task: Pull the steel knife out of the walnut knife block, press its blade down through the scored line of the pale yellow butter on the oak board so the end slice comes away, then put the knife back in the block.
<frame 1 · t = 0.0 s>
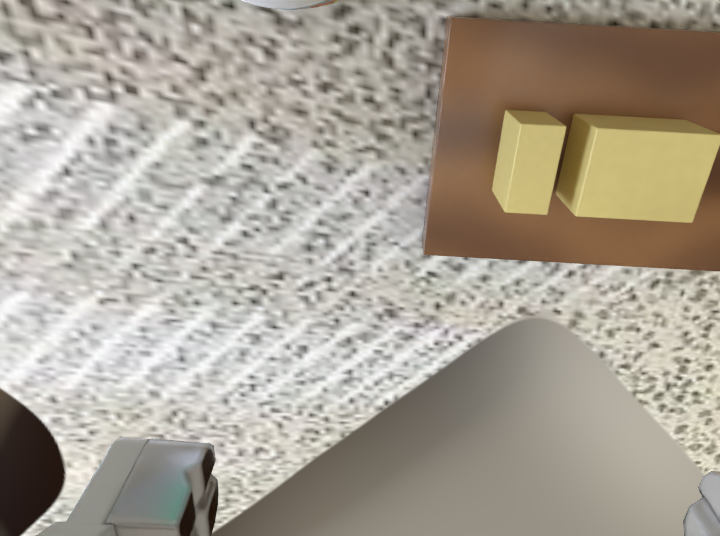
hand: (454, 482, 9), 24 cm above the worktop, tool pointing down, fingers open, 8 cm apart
board: (590, 150, 31), on the worktop
butter block: (618, 158, 30), point 1 cm above the worktop, touching board
butter slice: (517, 152, 30), point 1 cm above the worktop, touching board
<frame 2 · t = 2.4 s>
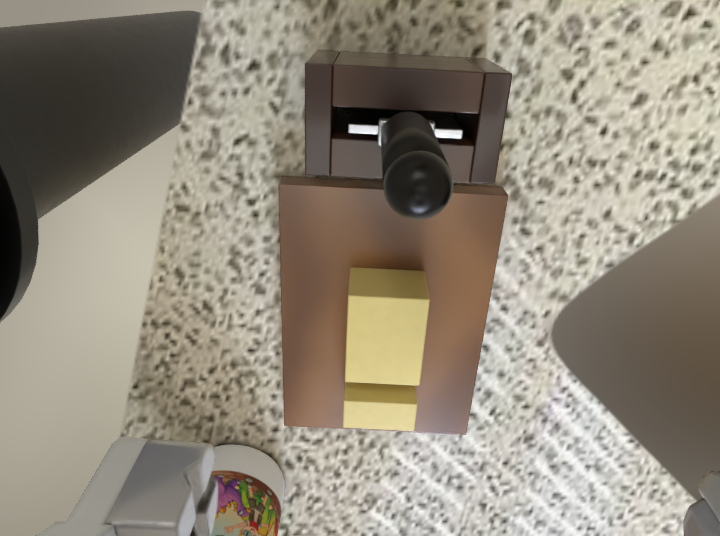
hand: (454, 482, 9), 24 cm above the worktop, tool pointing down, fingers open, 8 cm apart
board: (382, 311, 36), on the worktop
knife block: (398, 102, 30), on the worktop
milk bottle: (238, 474, 43), on the worktop
butter block: (384, 310, 34), point 1 cm above the worktop, touching board
butter slice: (378, 380, 37), point 1 cm above the worktop, touching board
knife: (406, 135, 23), in the knife block
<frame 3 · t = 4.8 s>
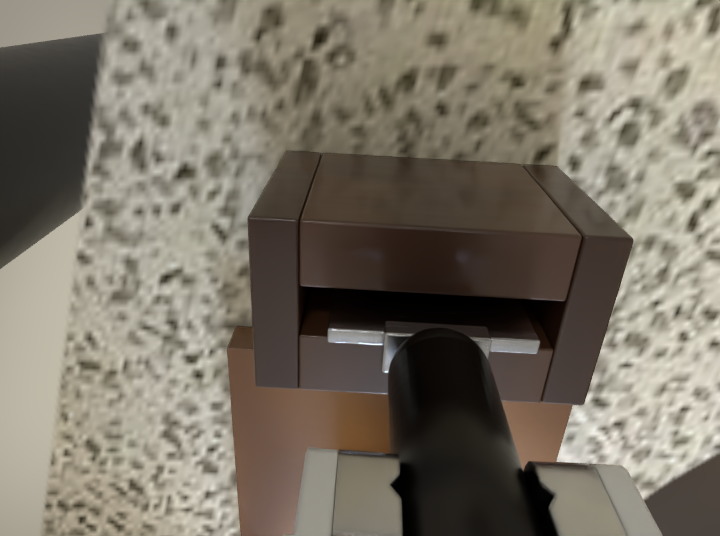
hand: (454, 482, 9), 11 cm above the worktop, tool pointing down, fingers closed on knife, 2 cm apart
board: (386, 497, 25), on the worktop
knife block: (414, 227, 19), on the worktop
knife: (436, 361, 12), in the knife block, touching gripper
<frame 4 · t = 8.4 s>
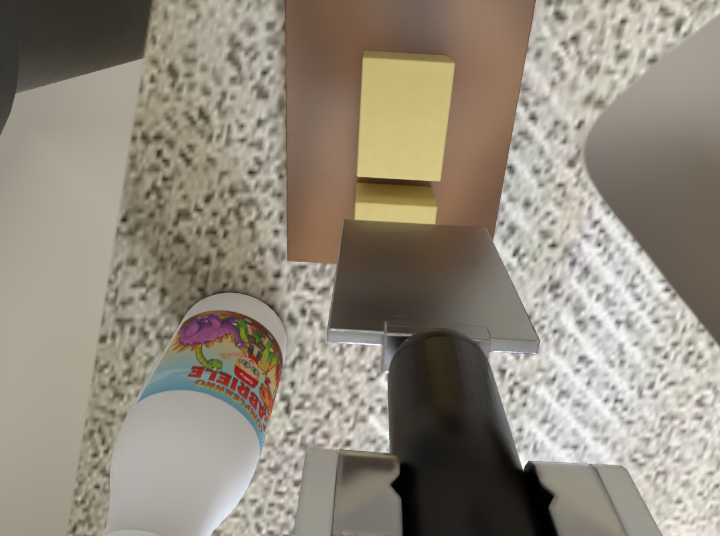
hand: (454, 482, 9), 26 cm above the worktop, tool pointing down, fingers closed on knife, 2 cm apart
board: (398, 121, 32), on the worktop
milk bottle: (237, 333, 40), on the worktop
butter block: (400, 109, 31), point 1 cm above the worktop, touching board
butter slice: (392, 201, 33), point 1 cm above the worktop, touching board
knife: (436, 361, 12), point 23 cm above the worktop, touching gripper
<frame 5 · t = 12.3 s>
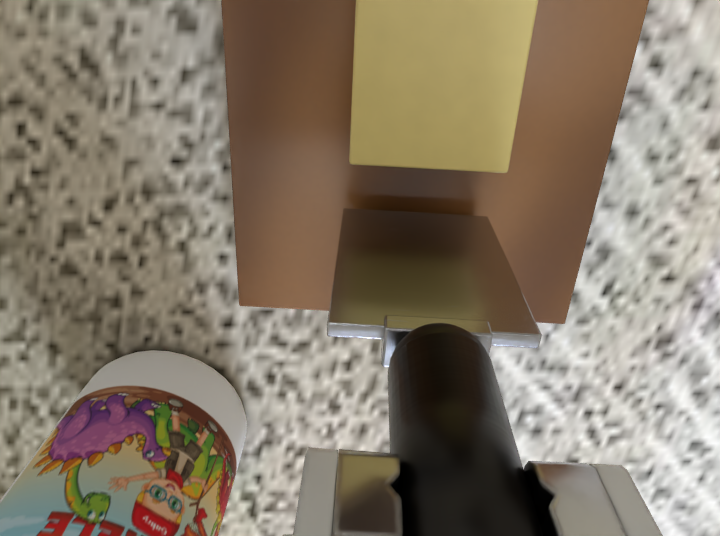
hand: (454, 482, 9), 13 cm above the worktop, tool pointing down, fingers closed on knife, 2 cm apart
board: (422, 72, 19), on the worktop
milk bottle: (171, 407, 26), on the worktop
butter block: (428, 44, 17), point 1 cm above the worktop, touching board
knife: (437, 356, 12), point 10 cm above the worktop, touching butter slice, gripper
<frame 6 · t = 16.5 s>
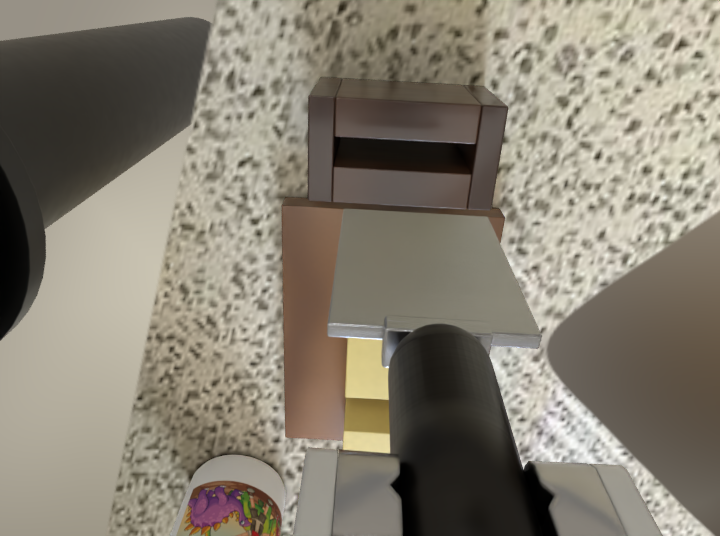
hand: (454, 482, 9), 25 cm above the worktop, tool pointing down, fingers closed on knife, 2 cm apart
board: (382, 327, 37), on the worktop
knife block: (398, 127, 31), on the worktop
milk bottle: (240, 484, 44), on the worktop
butter block: (383, 327, 35), point 1 cm above the worktop, touching board
butter slice: (377, 408, 38), point 1 cm above the worktop, touching board
knife: (437, 356, 12), point 21 cm above the worktop, touching gripper
when the fingers open (11 cm above the worktop, at t = 19.7 s): knife stays where it is, resting on knife block.
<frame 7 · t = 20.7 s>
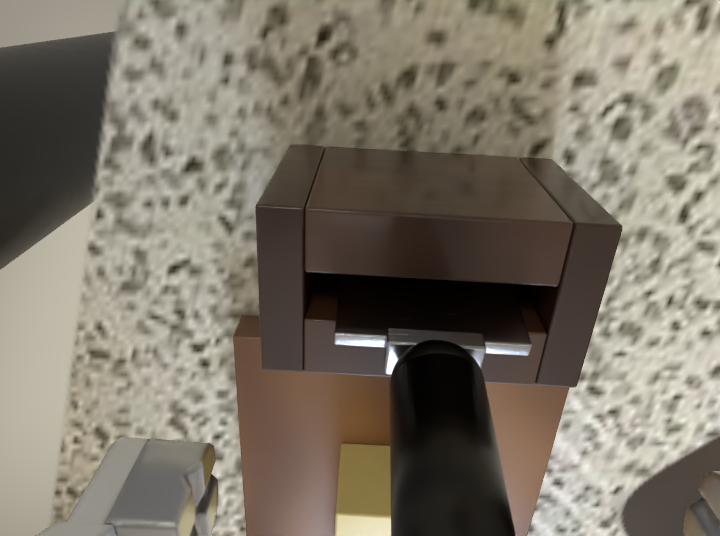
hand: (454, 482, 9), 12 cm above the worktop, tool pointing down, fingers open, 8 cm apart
board: (387, 484, 26), on the worktop
knife block: (414, 219, 20), on the worktop
butter block: (389, 495, 24), point 1 cm above the worktop, touching board
knife: (434, 366, 13), resting in knife block, tilted 9°
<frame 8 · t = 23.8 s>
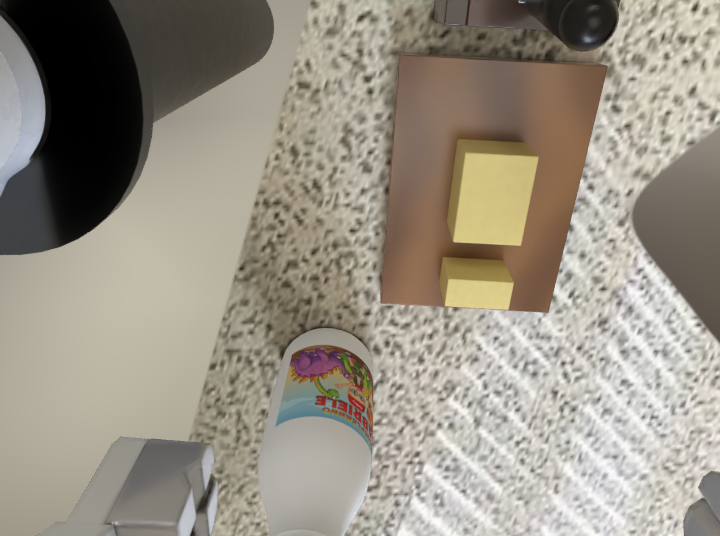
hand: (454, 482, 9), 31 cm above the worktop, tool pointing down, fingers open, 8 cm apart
board: (478, 190, 39), on the worktop
milk bottle: (328, 361, 47), on the worktop
butter block: (484, 183, 37), point 1 cm above the worktop, touching board
butter slice: (470, 271, 40), point 1 cm above the worktop, touching board
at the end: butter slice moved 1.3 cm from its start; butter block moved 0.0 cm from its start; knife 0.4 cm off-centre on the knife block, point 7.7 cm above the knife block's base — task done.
